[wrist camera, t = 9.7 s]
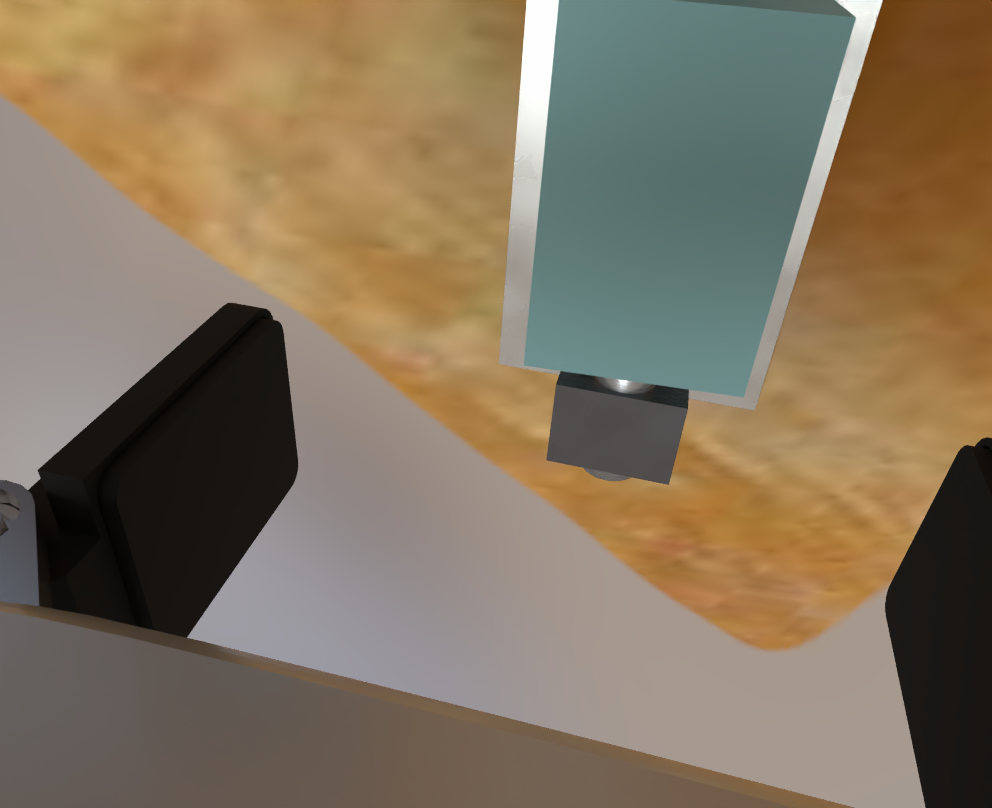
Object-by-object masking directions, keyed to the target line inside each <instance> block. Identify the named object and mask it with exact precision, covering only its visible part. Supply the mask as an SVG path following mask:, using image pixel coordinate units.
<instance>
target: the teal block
mask: <svg viewBox="0 0 992 808" xmlns="http://www.w3.org/2000/svg"><path fill="white" fill-rule="evenodd" d="M855 20H856V17H855V16H854V15H853V14H851V13H850V12H849V11H848V10H847V9H845V8H844V7H843V6H842V5H840V4H839V3H838V2H837V1H836V0H559V2H558V13H557V23H556V33H555V44H554V54H553V64H552V75H551V85H550V96H549V106H548V116H547V127H546V137H545V147H544V158H543V168H542V179H541V189H540V199H539V210H538V220H537V230H536V241H535V251H534V262H533V272H532V282H531V293H530V303H529V314H528V324H527V334H526V345H525V355H524V365H523V366H530V367H537V368H544V369H551V370H558V371H564V372H571V373H578V374H585V375H592V376H599V377H606V378H613V379H620V380H626V381H633V382H640V383H647V384H654V385H661V386H668V387H675V388H681V389H688V390H695V391H702V392H709V393H716V394H723V395H730V396H737V397H743V398H744V395H745V392H746V388H747V385H748V381H749V378H750V375H751V371H752V368H753V365H754V361H755V358H756V354H757V351H758V348H759V344H760V341H761V338H762V334H763V331H764V327H765V324H766V321H767V317H768V314H769V310H770V307H771V304H772V300H773V297H774V294H775V290H776V287H777V283H778V280H779V277H780V273H781V270H782V267H783V263H784V260H785V256H786V253H787V250H788V246H789V243H790V240H791V236H792V233H793V229H794V226H795V223H796V219H797V216H798V213H799V209H800V206H801V202H802V199H803V196H804V192H805V189H806V185H807V182H808V179H809V175H810V172H811V169H812V165H813V162H814V158H815V155H816V152H817V148H818V145H819V142H820V138H821V135H822V131H823V128H824V125H825V121H826V118H827V115H828V111H829V108H830V104H831V101H832V98H833V94H834V91H835V88H836V84H837V81H838V77H839V74H840V71H841V67H842V64H843V60H844V57H845V54H846V50H847V47H848V44H849V40H850V37H851V33H852V30H853V27H854V23H855Z"/></svg>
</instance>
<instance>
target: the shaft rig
mask: <svg viewBox="0 0 992 808" xmlns="http://www.w3.org/2000/svg"><path fill="white" fill-rule="evenodd" d="M836 1H837V2H838V3H839V4H840V5H842V6H843V7H844V8H845V9H847V10H848V11H849V12H850V13H851V14H853V15H854V16H855V17H856V20H855V23H854V27H853V30H852V33H851V37H850V40H849V44H848V47H847V50H846V54H845V57H844V60H843V64H842V67H841V71H840V74H839V77H838V81H837V84H836V88H835V91H834V94H833V98H832V101H831V104H830V108H829V111H828V115H827V118H826V121H825V125H824V128H823V131H822V135H821V138H820V142H819V145H818V148H817V152H816V155H815V158H814V162H813V165H812V169H811V172H810V175H809V179H808V182H807V185H806V189H805V192H804V196H803V199H802V202H801V206H800V209H799V213H798V216H797V219H796V223H795V226H794V229H793V233H792V236H791V240H790V243H789V246H788V250H787V253H786V256H785V260H784V263H783V267H782V270H781V273H780V277H779V280H778V283H777V287H776V290H775V294H774V297H773V300H772V304H771V307H770V310H769V314H768V317H767V321H766V324H765V327H764V331H763V334H762V338H761V341H760V344H759V348H758V351H757V354H756V358H755V361H754V365H753V368H752V371H751V375H750V378H749V381H748V385H747V388H746V392H745V395H744V398H743V397H737V396H730V395H723V394H716V393H709V392H702V391H695V390H688V389H681V388H675V387H668V386H661V385H654V384H647V383H640V382H633V381H626V380H620V379H613V378H606V377H599V376H592V375H585V374H578V373H571V372H564V371H558V370H551V369H544V368H537V367H530V366H523V365H524V355H525V345H526V334H527V324H528V314H529V303H530V293H531V282H532V272H533V262H534V251H535V241H536V230H537V220H538V210H539V199H540V189H541V179H542V168H543V158H544V147H545V137H546V127H547V116H548V106H549V96H550V85H551V75H552V64H553V54H554V44H555V33H556V23H557V13H558V2H559V0H527V6H526V19H525V32H524V45H523V58H522V71H521V84H520V97H519V109H518V122H517V135H516V148H515V161H514V174H513V187H512V200H511V213H510V226H509V239H508V252H507V265H506V278H505V290H504V303H503V316H502V329H501V342H500V355H499V364H502V365H508V366H513V367H519V368H524V369H530V370H535V371H541V372H546V373H552V374H557V375H559V378H558V381H557V384H556V390H555V398H554V406H553V414H552V421H551V429H550V437H549V444H548V452H547V460H548V461H553V462H558V463H563V464H568V465H573V466H578V467H583V468H584V469H585V470H586V471H587V472H588V473H589V474H591V475H593V476H594V477H597V478H599V479H603V480H608V481H621V480H626V479H628V478H631V477H633V478H638V479H643V480H648V481H653V482H658V483H663V484H668V485H669V482H670V478H671V474H672V470H673V466H674V462H675V458H676V454H677V450H678V446H679V442H680V438H681V434H682V430H683V426H684V422H685V418H686V414H687V410H688V399H694V400H700V401H705V402H711V403H716V404H721V405H727V406H732V407H738V408H743V409H749V410H754V411H755V408H756V405H757V401H758V398H759V395H760V392H761V389H762V385H763V382H764V379H765V376H766V373H767V369H768V366H769V363H770V360H771V357H772V353H773V350H774V347H775V344H776V341H777V337H778V334H779V331H780V328H781V325H782V321H783V318H784V315H785V312H786V309H787V305H788V302H789V299H790V296H791V293H792V289H793V286H794V283H795V280H796V277H797V273H798V270H799V267H800V264H801V261H802V257H803V254H804V251H805V248H806V245H807V241H808V238H809V235H810V232H811V229H812V225H813V222H814V219H815V216H816V213H817V209H818V206H819V203H820V200H821V197H822V193H823V190H824V187H825V184H826V180H827V177H828V174H829V171H830V168H831V164H832V161H833V158H834V155H835V152H836V148H837V145H838V142H839V139H840V136H841V132H842V129H843V126H844V123H845V120H846V116H847V113H848V110H849V107H850V104H851V100H852V97H853V94H854V91H855V88H856V84H857V81H858V78H859V75H860V72H861V68H862V65H863V62H864V59H865V56H866V52H867V49H868V46H869V43H870V40H871V36H872V33H873V30H874V27H875V24H876V20H877V17H878V14H879V11H880V8H881V4H882V1H883V0H836Z"/></svg>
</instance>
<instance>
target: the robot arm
mask: <svg viewBox="0 0 992 808" xmlns="http://www.w3.org/2000/svg"><path fill="white" fill-rule="evenodd" d="M297 471H298V457H297V448H296V439H295V430H294V421H293V412H292V403H291V394H290V386H289V377H288V368H287V360H286V351H285V342H284V333H283V328H282V325H281V323H280V322H278V321H275V320H273V317H272V315H271V313H270V311H268V310H267V309H264V308H258V307H253V306H247V305H241V304H236V303H227V304H226V305H224V306H223V307H222V308H220V309H219V310H218V311H217V312H216V313H215V314H214V315H213V316H212V317H210V318H209V319H208V320H207V321H206V322H205V323H203V324H202V325H201V326H200V327H199V328H198V329H197V330H196V331H195V332H193V333H192V334H191V335H190V336H189V337H188V338H187V339H185V340H184V341H183V342H182V343H181V344H180V345H179V346H177V347H176V348H175V349H174V350H173V351H172V352H171V353H170V354H168V355H167V356H166V357H165V358H164V359H163V360H162V361H161V362H159V363H158V364H157V365H156V366H155V367H154V368H153V369H151V370H150V371H149V372H148V373H147V374H146V375H145V376H144V377H143V378H141V379H140V380H139V381H138V382H137V383H136V384H135V385H133V386H132V387H131V388H130V389H129V390H128V391H127V392H125V393H124V394H123V395H122V396H121V397H120V398H119V399H118V400H116V401H115V402H114V403H113V404H112V405H111V406H110V407H109V408H107V409H106V410H105V411H104V412H103V413H102V414H101V415H99V416H98V417H97V418H96V419H95V420H94V421H93V422H92V423H90V424H89V425H88V426H87V427H86V428H85V429H84V430H83V431H82V432H80V433H79V434H78V435H77V436H76V437H75V438H73V439H72V440H71V441H70V442H69V443H68V444H67V445H66V446H64V447H63V448H62V449H61V450H60V451H59V452H58V453H57V454H55V455H54V456H53V457H52V458H51V459H50V460H49V461H48V462H46V463H45V464H44V465H43V466H42V467H41V468H40V469H39V470H38V472H39V475H40V477H41V479H40V480H39V481H38V482H37V483H35V484H34V485H33V486H32V487H31V488H30V489H29V490H27V489H25V488H24V487H23V486H22V485H19V484H16V483H13V482H10V481H7V480H0V808H853V807H850V806H846V805H842V804H838V803H835V802H831V801H826V800H823V799H819V798H815V797H811V796H808V795H804V794H800V793H796V792H792V791H788V790H785V789H780V788H777V787H773V786H769V785H765V784H762V783H758V782H754V781H750V780H746V779H742V778H738V777H734V776H731V775H727V774H723V773H719V772H715V771H712V770H708V769H704V768H700V767H696V766H692V765H688V764H684V763H680V762H677V761H673V760H669V759H665V758H662V757H658V756H654V755H650V754H646V753H642V752H638V751H635V750H630V749H627V748H623V747H619V746H615V745H611V744H607V743H603V742H599V741H595V740H592V739H588V738H584V737H580V736H576V735H572V734H568V733H564V732H560V731H556V730H553V729H549V728H545V727H541V726H537V725H533V724H528V723H525V722H521V721H517V720H513V719H509V718H506V717H501V716H498V715H494V714H490V713H486V712H482V711H478V710H473V709H470V708H466V707H462V706H458V705H454V704H450V703H446V702H442V701H438V700H435V699H431V698H426V697H422V696H418V695H415V694H411V693H407V692H403V691H399V690H395V689H391V688H387V687H383V686H379V685H375V684H371V683H367V682H363V681H359V680H355V679H351V678H347V677H343V676H339V675H335V674H331V673H327V672H323V671H319V670H315V669H311V668H307V667H303V666H298V665H294V664H291V663H287V662H283V661H279V660H275V659H271V658H267V657H263V656H259V655H254V654H251V653H246V652H243V651H239V650H235V649H231V648H226V647H222V646H218V645H214V644H210V643H206V642H202V641H198V640H194V639H190V638H187V636H188V635H189V634H190V632H191V631H192V629H193V628H194V626H195V625H196V624H197V622H198V621H199V619H200V618H201V616H202V615H203V613H204V612H205V611H206V609H207V608H208V606H209V605H210V603H211V602H212V600H213V599H214V598H215V596H216V595H217V593H218V592H219V590H220V589H221V588H222V586H223V584H224V583H225V582H226V580H227V579H228V578H229V576H230V575H231V573H232V572H233V570H234V569H235V567H236V566H237V565H238V563H239V562H240V560H241V559H242V557H243V556H244V554H245V553H246V551H247V550H248V549H249V547H250V546H251V544H252V543H253V542H254V540H255V539H256V537H257V536H258V534H259V533H260V532H261V530H262V529H263V527H264V526H265V524H266V523H267V522H268V520H269V518H270V517H271V516H272V514H273V513H274V511H275V510H276V508H277V507H278V505H279V504H280V503H281V501H282V500H283V499H284V497H285V496H286V494H287V493H288V491H289V490H290V488H291V487H292V485H293V483H294V481H295V479H296V475H297ZM885 612H886V619H887V623H888V628H889V633H890V638H891V643H892V648H893V652H894V657H895V662H896V667H897V672H898V677H899V681H900V686H901V691H902V696H903V700H904V705H905V710H906V715H907V720H908V724H909V729H910V734H911V739H912V744H913V749H914V754H915V758H916V763H917V768H918V773H919V778H920V783H921V787H922V792H923V796H924V802H925V807H926V808H992V438H988V437H987V438H983V439H981V440H980V441H979V442H978V443H977V444H976V446H975V447H974V446H968V445H967V446H964V447H962V448H961V449H960V451H959V452H958V454H957V455H956V457H955V459H954V461H953V463H952V465H951V467H950V469H949V471H948V473H947V475H946V477H945V479H944V481H943V483H942V485H941V487H940V489H939V491H938V492H937V494H936V496H935V498H934V500H933V502H932V504H931V506H930V508H929V510H928V512H927V514H926V516H925V518H924V520H923V522H922V524H921V526H920V528H919V530H918V531H917V533H916V535H915V537H914V539H913V541H912V543H911V545H910V547H909V549H908V551H907V553H906V555H905V557H904V559H903V561H902V563H901V565H900V567H899V568H898V570H897V572H896V574H895V576H894V578H893V580H892V582H891V584H890V586H889V589H888V592H887V596H886V603H885Z"/></svg>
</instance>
